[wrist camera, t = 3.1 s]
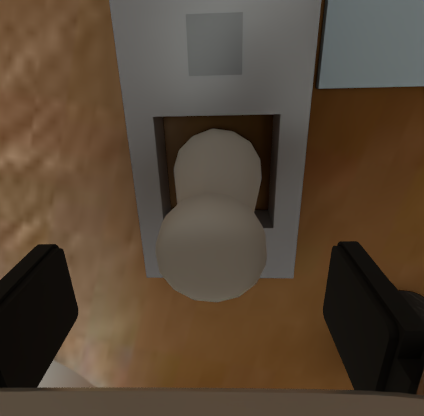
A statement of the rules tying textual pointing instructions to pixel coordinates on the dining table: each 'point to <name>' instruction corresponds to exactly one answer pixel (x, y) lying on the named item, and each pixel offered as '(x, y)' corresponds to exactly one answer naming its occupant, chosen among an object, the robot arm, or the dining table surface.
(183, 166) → the salt shaker
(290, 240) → the power strip
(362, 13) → the rubber mat
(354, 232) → the dining table surface
